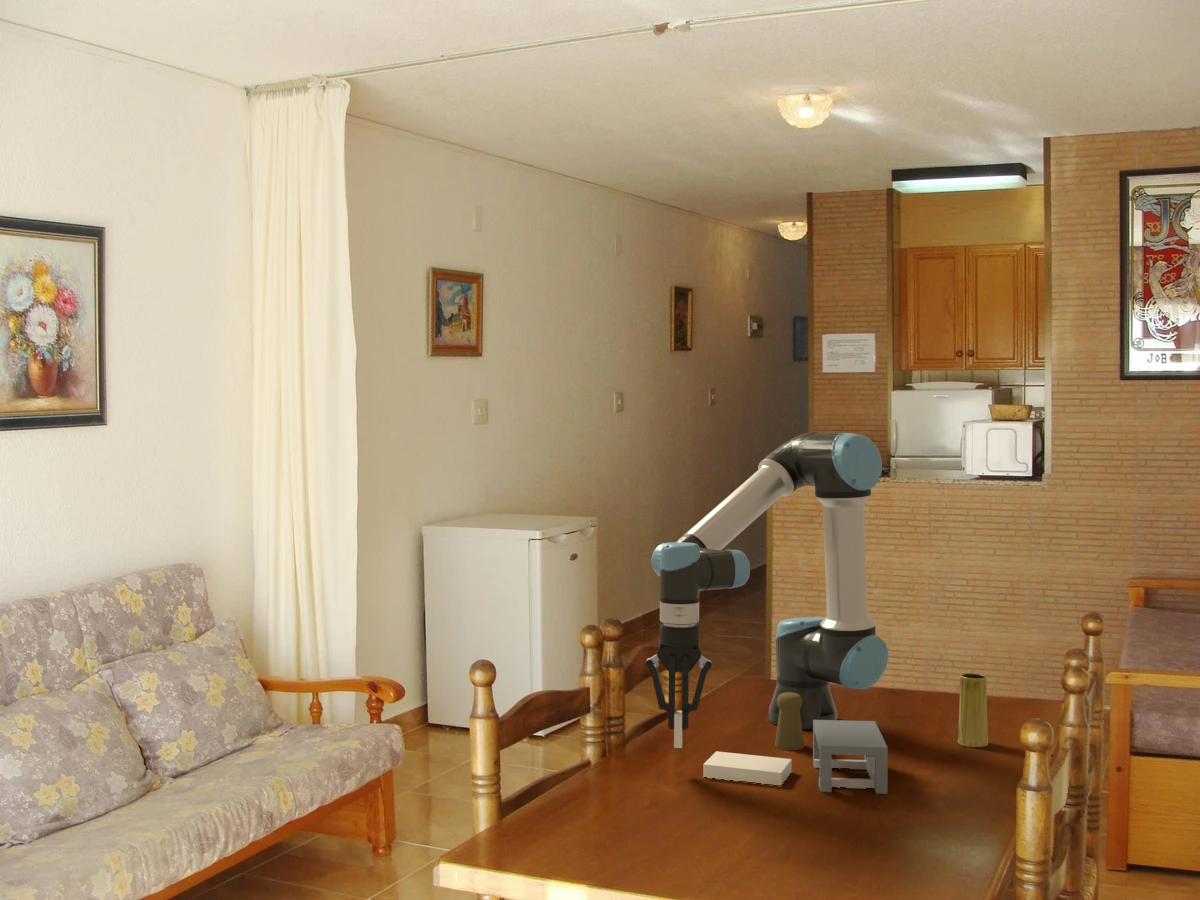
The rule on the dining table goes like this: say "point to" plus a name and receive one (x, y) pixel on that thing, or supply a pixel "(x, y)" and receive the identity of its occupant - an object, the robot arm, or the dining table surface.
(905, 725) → the dining table surface
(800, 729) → the cork
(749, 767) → the cover
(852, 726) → the shelf
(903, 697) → the dining table surface
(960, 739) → the vase
